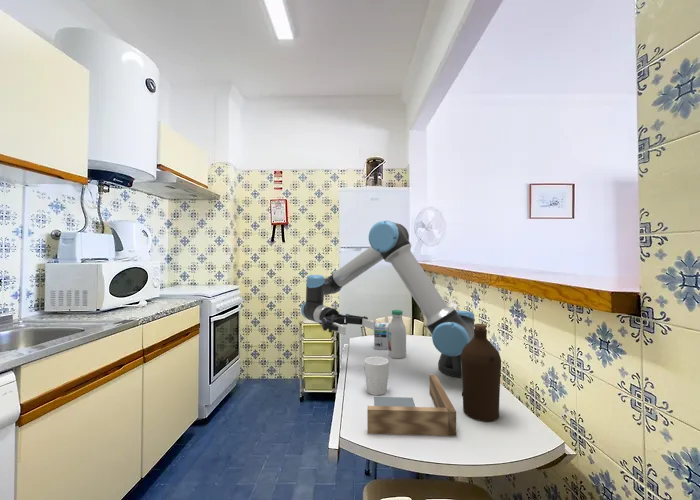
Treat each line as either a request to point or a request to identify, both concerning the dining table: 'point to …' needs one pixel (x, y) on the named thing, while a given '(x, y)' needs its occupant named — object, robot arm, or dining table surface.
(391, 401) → the slate mat
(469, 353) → the brown bottle
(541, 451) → the dining table surface
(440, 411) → the corner pen
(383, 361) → the white cup
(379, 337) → the light bulb box
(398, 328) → the milk bottle
